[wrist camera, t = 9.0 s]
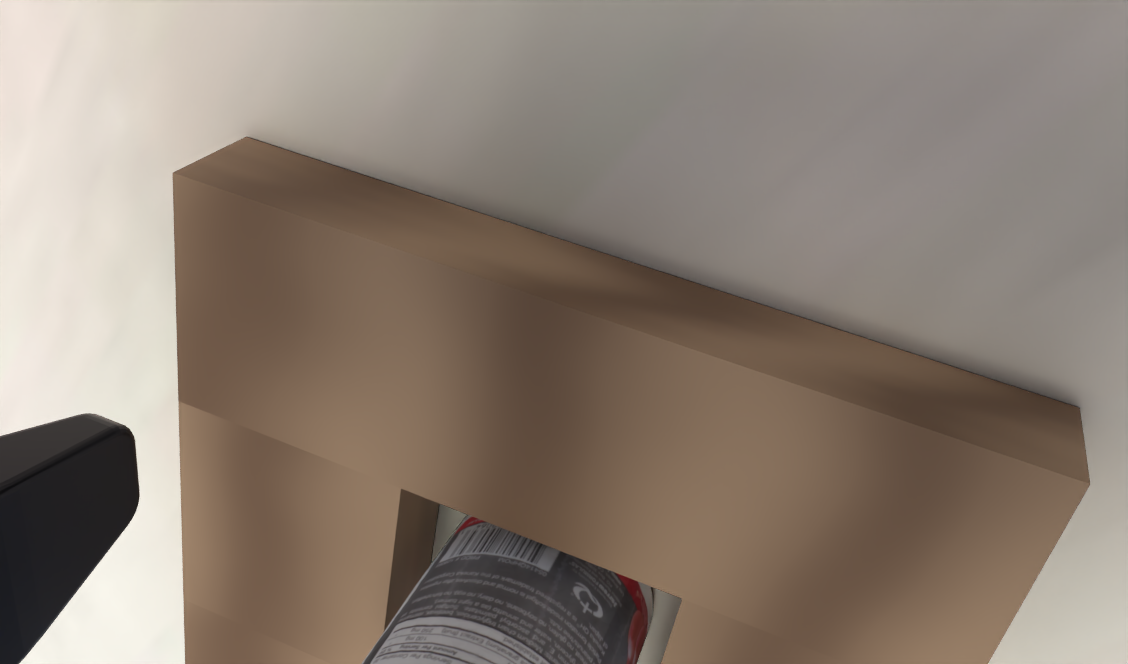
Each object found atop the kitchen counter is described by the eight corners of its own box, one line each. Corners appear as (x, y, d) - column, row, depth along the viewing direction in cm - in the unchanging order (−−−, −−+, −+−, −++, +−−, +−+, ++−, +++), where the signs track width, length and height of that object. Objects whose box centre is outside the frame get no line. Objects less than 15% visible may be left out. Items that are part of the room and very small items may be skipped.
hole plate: (1080, 408, 19) (1090, 484, 17) (799, 929, 29) (784, 1019, 27) (246, 136, 23) (172, 172, 21) (238, 676, 32) (187, 738, 30)
